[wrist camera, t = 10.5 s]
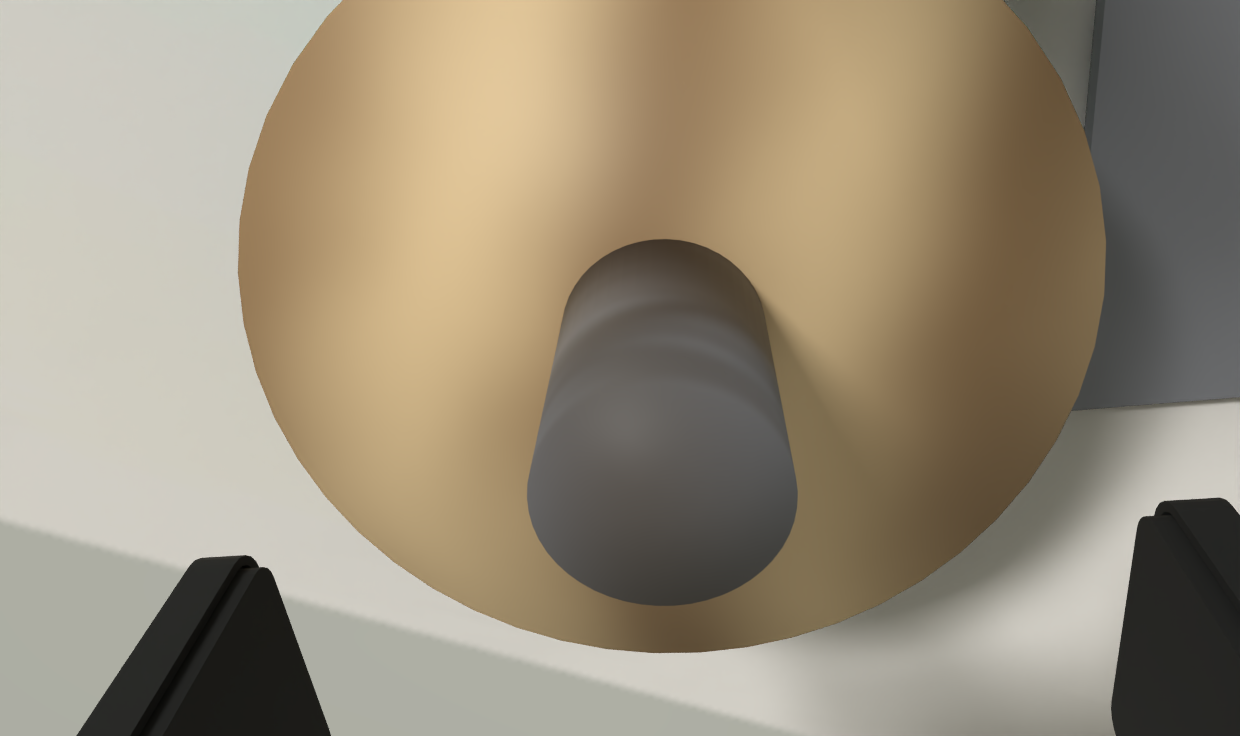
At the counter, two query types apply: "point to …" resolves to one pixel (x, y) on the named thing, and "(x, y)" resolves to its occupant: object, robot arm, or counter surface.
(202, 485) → the counter surface
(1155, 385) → the mat
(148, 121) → the counter surface
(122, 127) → the counter surface
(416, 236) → the lid
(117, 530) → the counter surface
